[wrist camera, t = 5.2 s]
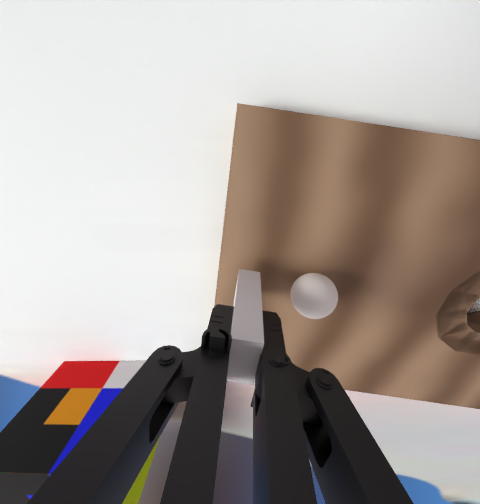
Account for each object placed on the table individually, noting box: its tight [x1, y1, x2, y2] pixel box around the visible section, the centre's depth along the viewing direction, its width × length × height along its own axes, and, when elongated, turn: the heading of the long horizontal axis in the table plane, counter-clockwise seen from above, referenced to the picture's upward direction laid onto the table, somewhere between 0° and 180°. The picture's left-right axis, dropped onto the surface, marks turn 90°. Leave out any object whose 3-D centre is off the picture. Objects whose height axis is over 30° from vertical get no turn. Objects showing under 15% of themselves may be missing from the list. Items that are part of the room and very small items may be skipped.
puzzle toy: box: [0, 361, 160, 504], centre depth 24 cm, size 10×10×10 cm
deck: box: [214, 103, 480, 409], centre depth 19 cm, size 30×22×2 cm
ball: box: [290, 273, 338, 319], centre depth 16 cm, size 3×3×3 cm
